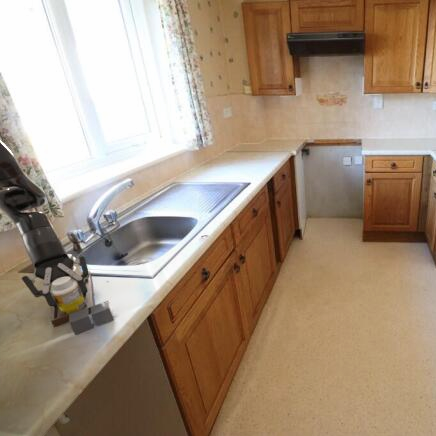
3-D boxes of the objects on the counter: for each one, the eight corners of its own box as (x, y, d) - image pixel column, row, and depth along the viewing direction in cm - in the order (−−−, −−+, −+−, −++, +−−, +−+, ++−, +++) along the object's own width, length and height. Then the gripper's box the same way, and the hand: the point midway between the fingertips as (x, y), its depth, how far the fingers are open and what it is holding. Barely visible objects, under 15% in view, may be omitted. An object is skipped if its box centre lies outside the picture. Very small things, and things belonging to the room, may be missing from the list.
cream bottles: (62, 304, 92) (48, 275, 88) (63, 284, 101) (50, 257, 97) (86, 296, 95) (74, 267, 91) (85, 277, 104) (73, 250, 100)
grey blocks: (75, 335, 82) (69, 322, 80) (75, 326, 85) (69, 314, 83) (114, 320, 86) (109, 308, 85) (112, 312, 89) (108, 300, 87)
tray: (54, 328, 84) (50, 321, 83) (57, 288, 100) (53, 281, 99) (96, 313, 89) (93, 306, 88) (92, 277, 105) (89, 270, 104)
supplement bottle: (62, 309, 90) (48, 279, 86) (86, 301, 93) (73, 271, 89) (62, 320, 86) (47, 289, 81) (87, 311, 89) (74, 281, 84)
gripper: (6, 252, 81) (33, 310, 79) (74, 232, 91) (100, 283, 88) (13, 263, 87) (39, 317, 84) (77, 242, 96) (101, 291, 94)
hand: (70, 300), depth 86 cm, fingers open, 6 cm apart
